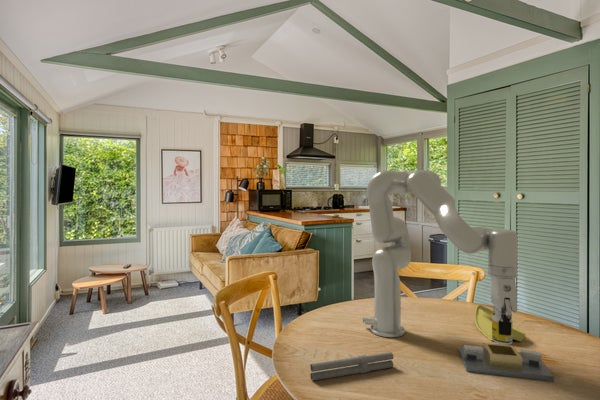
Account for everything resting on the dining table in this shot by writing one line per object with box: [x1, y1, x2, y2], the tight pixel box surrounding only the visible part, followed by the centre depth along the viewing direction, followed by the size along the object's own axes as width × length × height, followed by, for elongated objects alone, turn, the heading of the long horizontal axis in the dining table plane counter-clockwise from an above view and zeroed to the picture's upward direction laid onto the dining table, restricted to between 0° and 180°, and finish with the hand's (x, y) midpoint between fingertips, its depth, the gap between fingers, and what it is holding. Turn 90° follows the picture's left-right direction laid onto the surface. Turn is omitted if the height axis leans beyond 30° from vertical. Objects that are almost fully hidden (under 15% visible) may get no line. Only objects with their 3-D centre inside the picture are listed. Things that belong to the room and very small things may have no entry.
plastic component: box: [474, 304, 527, 342], centre depth 133 cm, size 20×7×10 cm
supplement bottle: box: [492, 308, 514, 345], centre depth 108 cm, size 5×5×10 cm
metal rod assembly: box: [309, 351, 395, 382], centre depth 103 cm, size 26×3×5 cm, turn 107°
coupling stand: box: [458, 342, 555, 382], centre depth 108 cm, size 22×14×4 cm, turn 75°
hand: (501, 330), depth 108 cm, fingers closed on supplement bottle, 5 cm apart
